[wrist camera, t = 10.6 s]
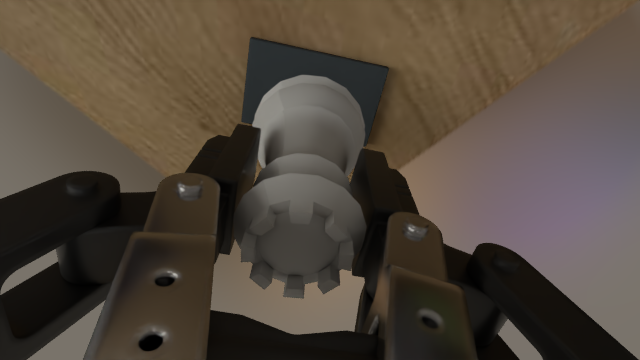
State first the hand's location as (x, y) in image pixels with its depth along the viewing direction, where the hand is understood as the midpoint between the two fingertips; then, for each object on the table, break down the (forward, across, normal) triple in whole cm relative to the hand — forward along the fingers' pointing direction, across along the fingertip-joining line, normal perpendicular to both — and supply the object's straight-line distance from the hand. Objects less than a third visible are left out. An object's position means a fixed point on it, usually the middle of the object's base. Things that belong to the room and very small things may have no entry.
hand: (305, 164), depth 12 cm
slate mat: (+8, 0, 0) cm, 8 cm away
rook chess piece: (+4, 0, 0) cm, 4 cm away
